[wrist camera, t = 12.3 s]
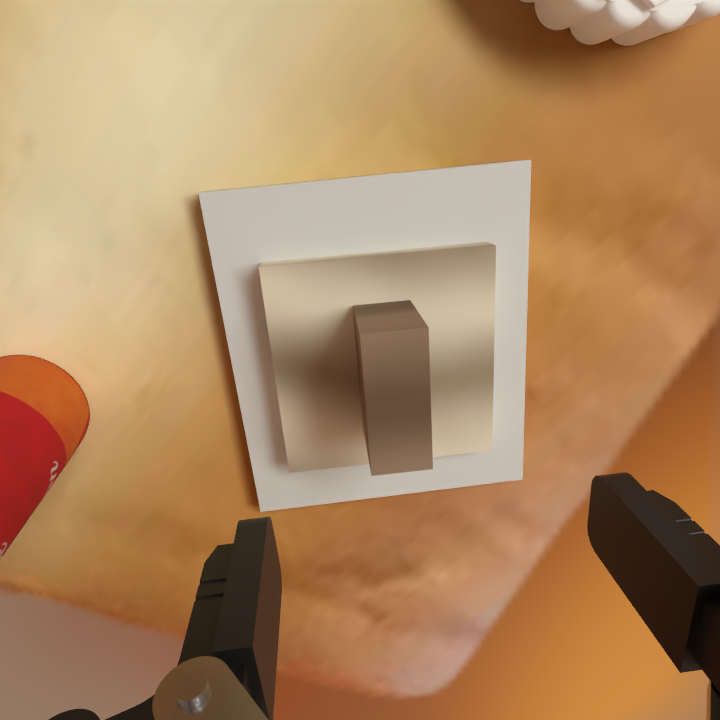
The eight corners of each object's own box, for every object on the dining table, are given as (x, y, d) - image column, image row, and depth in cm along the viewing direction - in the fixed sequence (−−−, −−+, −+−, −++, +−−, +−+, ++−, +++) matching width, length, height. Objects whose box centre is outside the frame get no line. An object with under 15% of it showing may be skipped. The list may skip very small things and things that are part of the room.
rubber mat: (202, 191, 22) (198, 193, 21) (524, 160, 23) (530, 159, 22) (262, 502, 28) (260, 512, 27) (517, 471, 28) (522, 479, 28)
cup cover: (261, 262, 23) (246, 289, 18) (487, 241, 23) (532, 262, 18) (290, 459, 26) (284, 527, 21) (484, 438, 27) (522, 499, 22)
